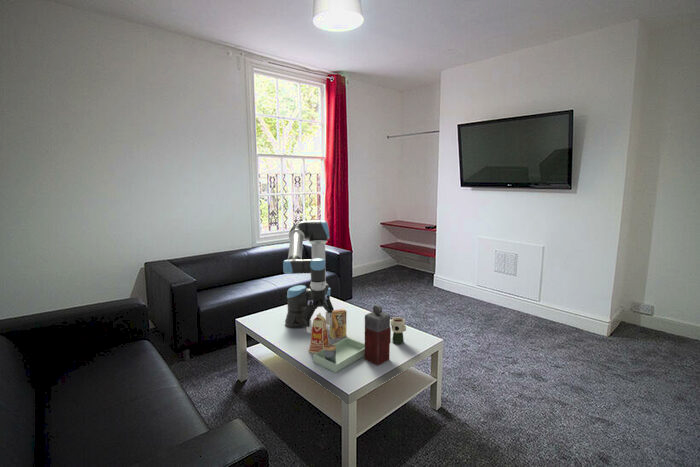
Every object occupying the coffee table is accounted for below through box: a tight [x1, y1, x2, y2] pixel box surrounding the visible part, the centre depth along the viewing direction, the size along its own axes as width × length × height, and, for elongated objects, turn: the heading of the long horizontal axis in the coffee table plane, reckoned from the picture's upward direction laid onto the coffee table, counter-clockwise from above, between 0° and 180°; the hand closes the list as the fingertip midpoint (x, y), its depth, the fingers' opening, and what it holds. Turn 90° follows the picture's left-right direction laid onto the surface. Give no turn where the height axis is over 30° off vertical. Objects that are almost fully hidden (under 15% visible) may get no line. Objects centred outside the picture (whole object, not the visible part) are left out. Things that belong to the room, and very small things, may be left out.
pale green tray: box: [312, 336, 365, 374], centre depth 173 cm, size 15×25×4 cm, turn 139°
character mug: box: [390, 316, 407, 345], centre depth 189 cm, size 11×7×13 cm, turn 39°
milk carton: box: [308, 312, 330, 354], centre depth 180 cm, size 9×9×20 cm
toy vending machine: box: [364, 304, 392, 366], centre depth 170 cm, size 9×11×28 cm
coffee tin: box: [324, 343, 336, 364], centre depth 166 cm, size 6×6×8 cm
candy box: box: [329, 308, 347, 340], centre depth 196 cm, size 9×4×15 cm, turn 116°
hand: (318, 328), depth 180 cm, fingers open, 13 cm apart
